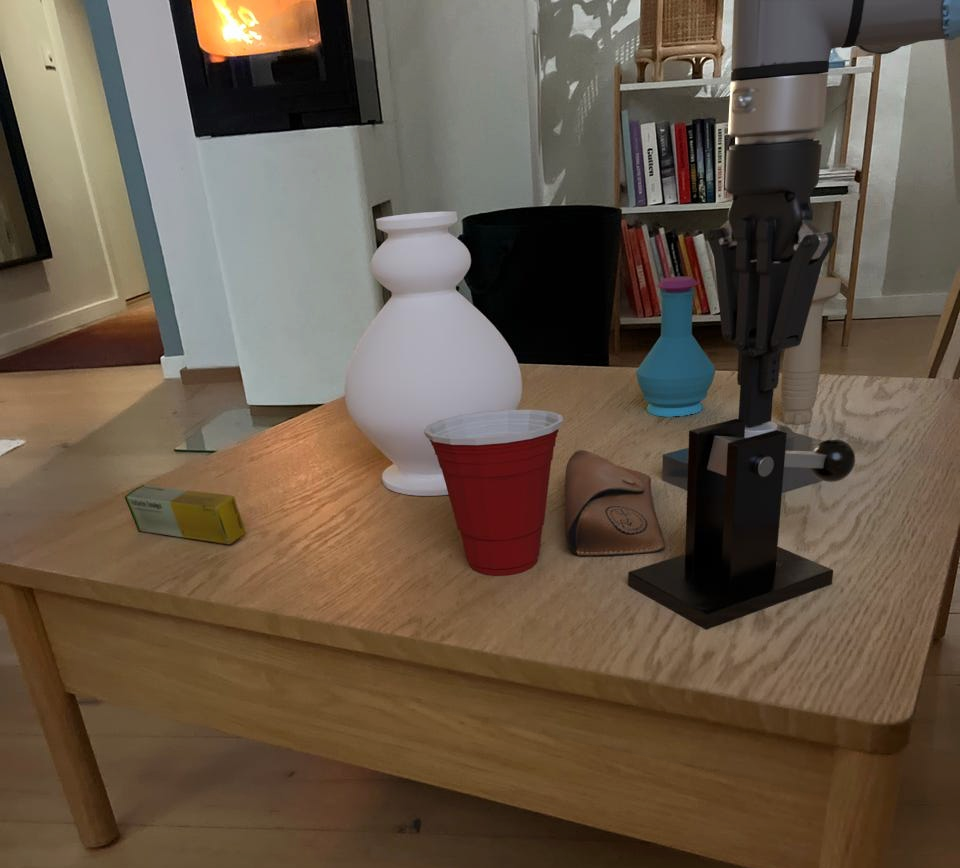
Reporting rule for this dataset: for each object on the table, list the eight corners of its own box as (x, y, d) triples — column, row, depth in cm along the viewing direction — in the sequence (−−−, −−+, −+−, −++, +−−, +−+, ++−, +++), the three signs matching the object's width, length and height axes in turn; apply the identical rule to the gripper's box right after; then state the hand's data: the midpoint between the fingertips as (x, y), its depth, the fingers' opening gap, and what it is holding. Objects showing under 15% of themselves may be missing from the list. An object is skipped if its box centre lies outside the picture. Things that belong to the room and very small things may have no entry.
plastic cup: (553, 529, 83) (547, 393, 77) (582, 578, 73) (578, 428, 68) (432, 544, 82) (417, 408, 76) (445, 596, 72) (429, 445, 67)
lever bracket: (747, 547, 76) (756, 403, 71) (832, 584, 69) (850, 427, 64) (627, 585, 72) (627, 435, 66) (706, 630, 65) (713, 465, 59)
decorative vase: (486, 440, 108) (469, 203, 97) (555, 482, 94) (545, 209, 82) (338, 469, 103) (300, 222, 91) (387, 518, 88) (349, 231, 76)
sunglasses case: (672, 547, 76) (630, 482, 74) (598, 590, 78) (555, 528, 76) (651, 475, 92) (616, 419, 89) (590, 513, 94) (554, 459, 92)
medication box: (136, 533, 90) (121, 495, 88) (155, 520, 92) (142, 483, 90) (229, 546, 85) (216, 506, 83) (248, 532, 87) (235, 492, 84)
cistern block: (769, 451, 97) (772, 408, 95) (844, 475, 89) (850, 428, 87) (661, 480, 92) (662, 436, 90) (732, 509, 84) (734, 460, 82)
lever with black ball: (824, 476, 73) (836, 435, 72) (857, 487, 71) (869, 444, 70) (700, 473, 67) (710, 428, 66) (731, 484, 64) (742, 438, 63)
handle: (765, 416, 108) (775, 279, 101) (823, 415, 107) (838, 276, 100) (768, 428, 104) (778, 286, 97) (828, 427, 103) (844, 283, 96)
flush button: (755, 434, 91) (756, 416, 90) (785, 443, 88) (787, 424, 87) (723, 442, 90) (724, 424, 89) (753, 452, 87) (754, 433, 86)
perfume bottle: (649, 397, 119) (650, 273, 112) (721, 401, 115) (727, 271, 108) (626, 417, 112) (626, 285, 105) (702, 421, 108) (707, 284, 101)
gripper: (686, 144, 80) (678, 416, 92) (799, 139, 70) (774, 446, 81) (752, 138, 83) (737, 402, 95) (870, 132, 73) (837, 429, 84)
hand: (754, 422), depth 88 cm, fingers closed
